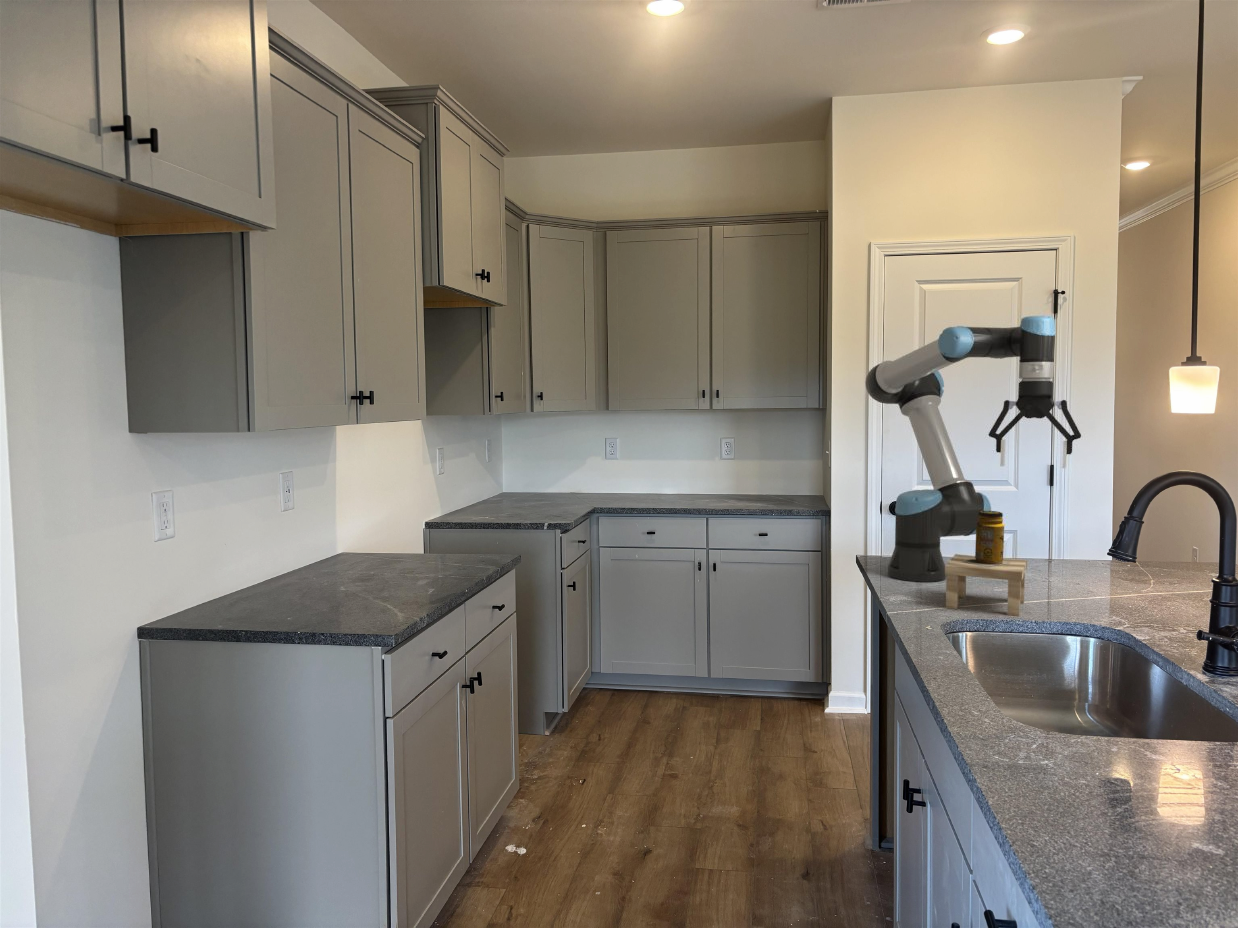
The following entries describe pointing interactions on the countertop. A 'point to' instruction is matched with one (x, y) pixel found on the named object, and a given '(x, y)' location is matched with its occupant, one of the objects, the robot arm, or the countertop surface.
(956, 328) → the robot arm
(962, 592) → the stool
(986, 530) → the condiment
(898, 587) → the countertop surface
